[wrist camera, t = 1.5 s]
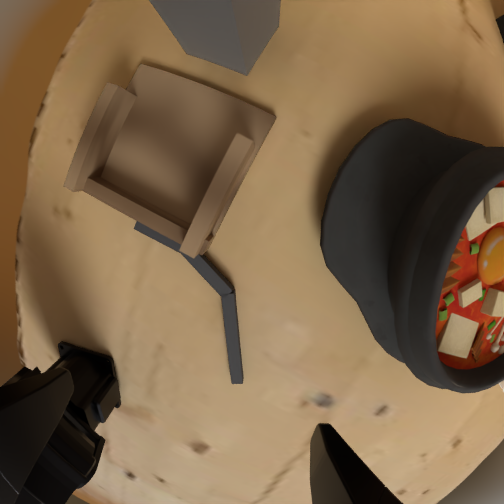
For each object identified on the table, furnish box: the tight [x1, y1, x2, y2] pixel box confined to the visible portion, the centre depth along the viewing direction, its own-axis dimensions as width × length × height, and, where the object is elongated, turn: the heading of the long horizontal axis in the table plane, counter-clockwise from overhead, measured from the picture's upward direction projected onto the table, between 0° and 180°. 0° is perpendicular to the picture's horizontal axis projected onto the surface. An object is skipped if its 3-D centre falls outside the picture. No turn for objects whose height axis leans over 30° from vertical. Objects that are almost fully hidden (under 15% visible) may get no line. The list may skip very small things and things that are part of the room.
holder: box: [64, 64, 276, 258], centre depth 17 cm, size 10×11×4 cm
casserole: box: [320, 118, 504, 393], centre depth 16 cm, size 25×19×8 cm
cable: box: [134, 221, 243, 384], centre depth 21 cm, size 4×15×1 cm, turn 28°
